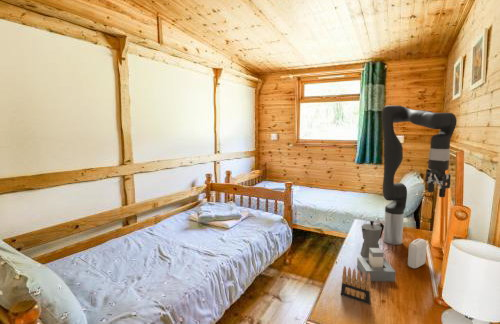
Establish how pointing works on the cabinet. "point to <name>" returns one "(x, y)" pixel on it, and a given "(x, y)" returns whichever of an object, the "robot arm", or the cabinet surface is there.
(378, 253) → the connector plug
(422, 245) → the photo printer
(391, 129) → the robot arm
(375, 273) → the socket holder
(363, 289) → the ammunition clip
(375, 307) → the cabinet surface
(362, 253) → the coffeepot
